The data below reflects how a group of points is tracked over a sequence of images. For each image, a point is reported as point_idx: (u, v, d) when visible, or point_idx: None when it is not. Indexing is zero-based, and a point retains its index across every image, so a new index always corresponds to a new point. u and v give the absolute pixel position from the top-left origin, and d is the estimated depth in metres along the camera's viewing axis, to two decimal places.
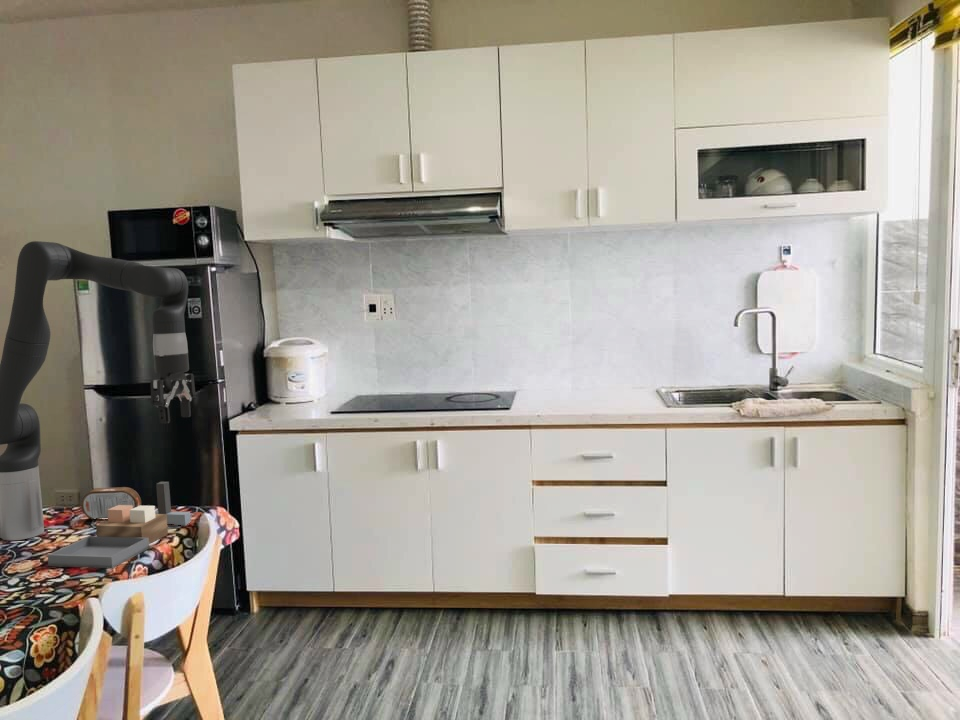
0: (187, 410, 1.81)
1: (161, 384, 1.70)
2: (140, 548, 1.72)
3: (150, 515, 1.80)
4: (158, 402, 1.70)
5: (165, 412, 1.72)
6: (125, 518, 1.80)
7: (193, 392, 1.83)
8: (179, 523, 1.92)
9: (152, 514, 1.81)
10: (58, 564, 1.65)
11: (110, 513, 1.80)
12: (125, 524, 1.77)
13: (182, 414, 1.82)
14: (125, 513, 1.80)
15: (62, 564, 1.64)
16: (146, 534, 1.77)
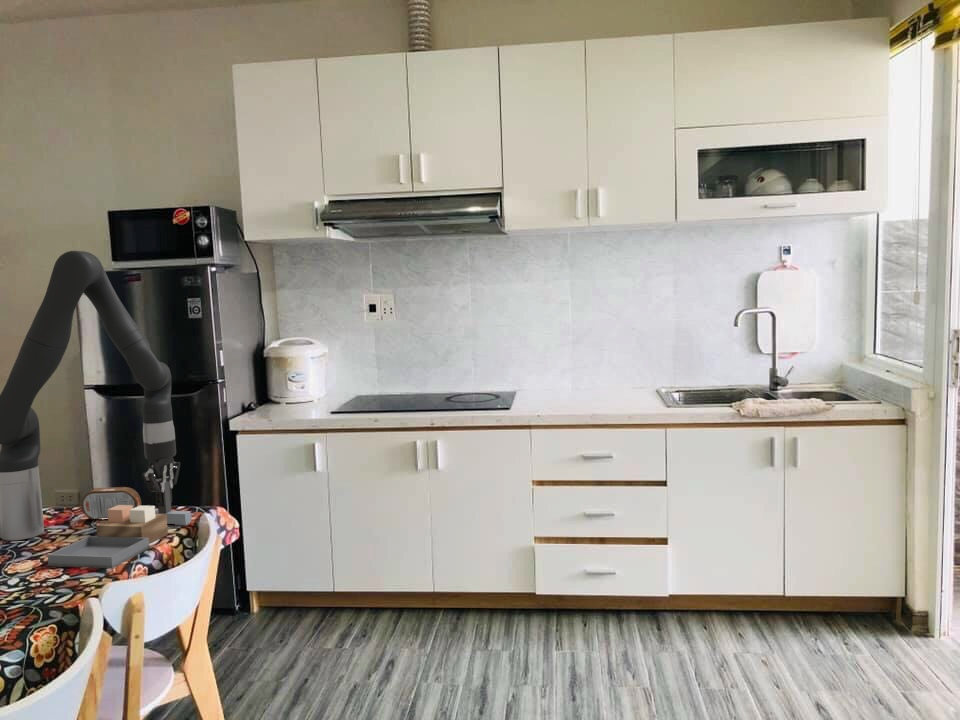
0: None
1: (152, 476, 1.87)
2: (140, 548, 1.72)
3: (150, 515, 1.80)
4: (155, 489, 1.89)
5: (161, 496, 1.92)
6: (125, 518, 1.80)
7: (175, 479, 1.97)
8: (179, 522, 1.92)
9: (152, 514, 1.81)
10: (58, 564, 1.65)
11: (110, 513, 1.80)
12: (125, 524, 1.77)
13: None
14: (125, 513, 1.80)
15: (62, 564, 1.64)
16: (146, 534, 1.77)
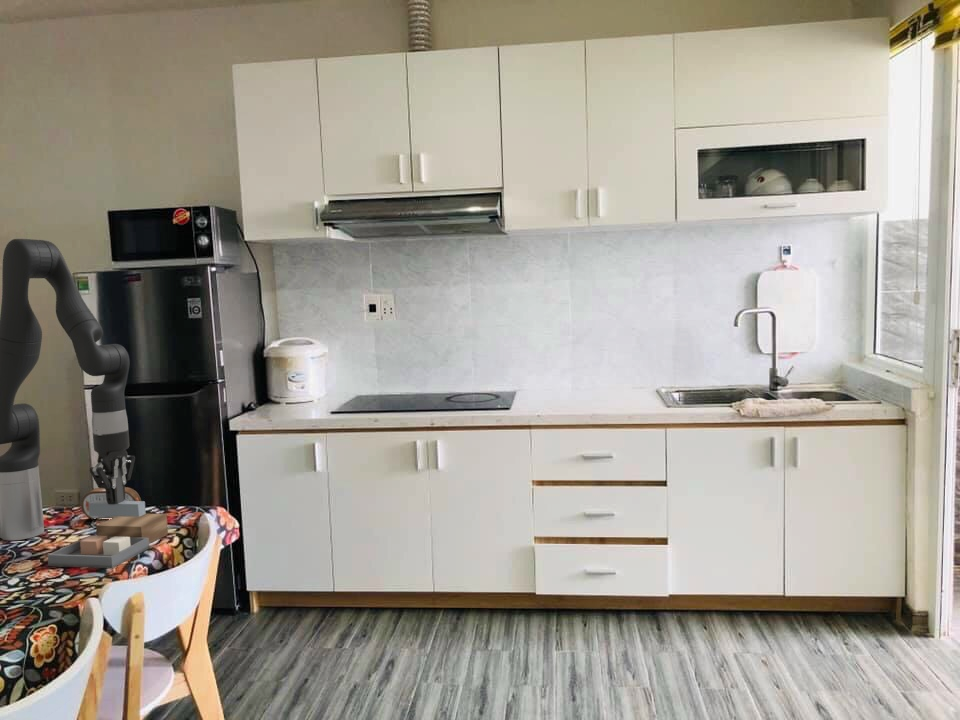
0: None
1: (101, 471, 1.69)
2: (140, 548, 1.72)
3: (124, 544, 1.70)
4: (105, 485, 1.71)
5: (112, 493, 1.73)
6: (104, 539, 1.73)
7: (129, 474, 1.79)
8: (132, 513, 1.74)
9: (121, 545, 1.69)
10: (58, 564, 1.65)
11: None
12: (125, 524, 1.77)
13: None
14: None
15: (62, 564, 1.64)
16: (146, 534, 1.77)
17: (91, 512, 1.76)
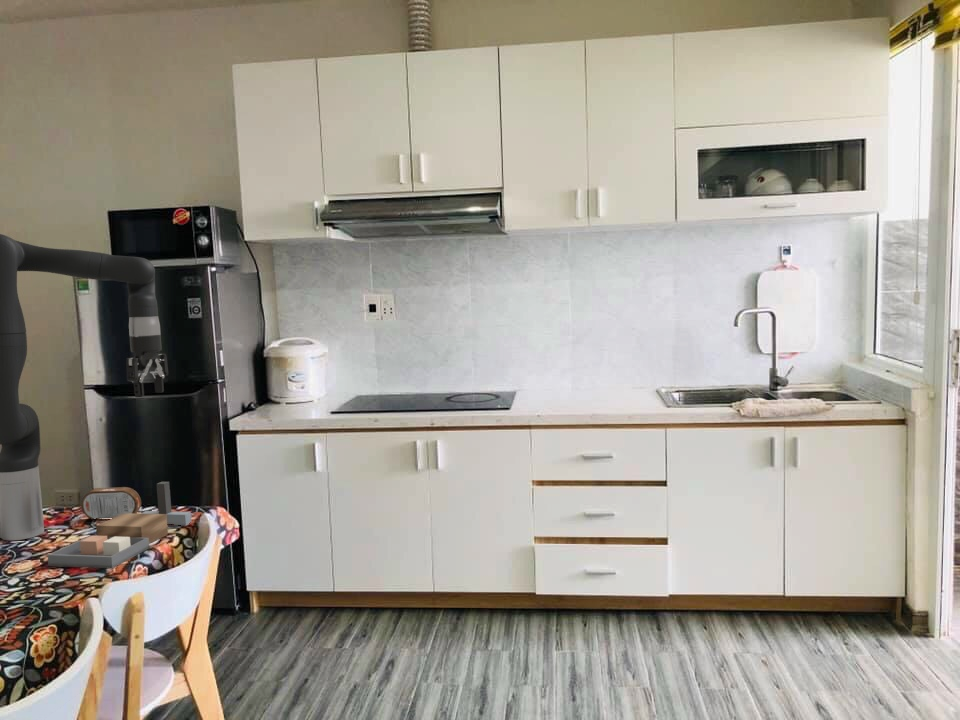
0: (160, 386, 2.02)
1: (135, 362, 1.91)
2: (140, 548, 1.72)
3: (124, 544, 1.70)
4: (133, 378, 1.91)
5: (139, 387, 1.93)
6: (104, 539, 1.73)
7: (166, 370, 2.04)
8: (179, 523, 1.92)
9: (121, 545, 1.69)
10: (58, 564, 1.65)
11: None
12: (125, 524, 1.77)
13: (156, 390, 2.02)
14: None
15: (62, 564, 1.64)
16: (146, 534, 1.77)
17: None
